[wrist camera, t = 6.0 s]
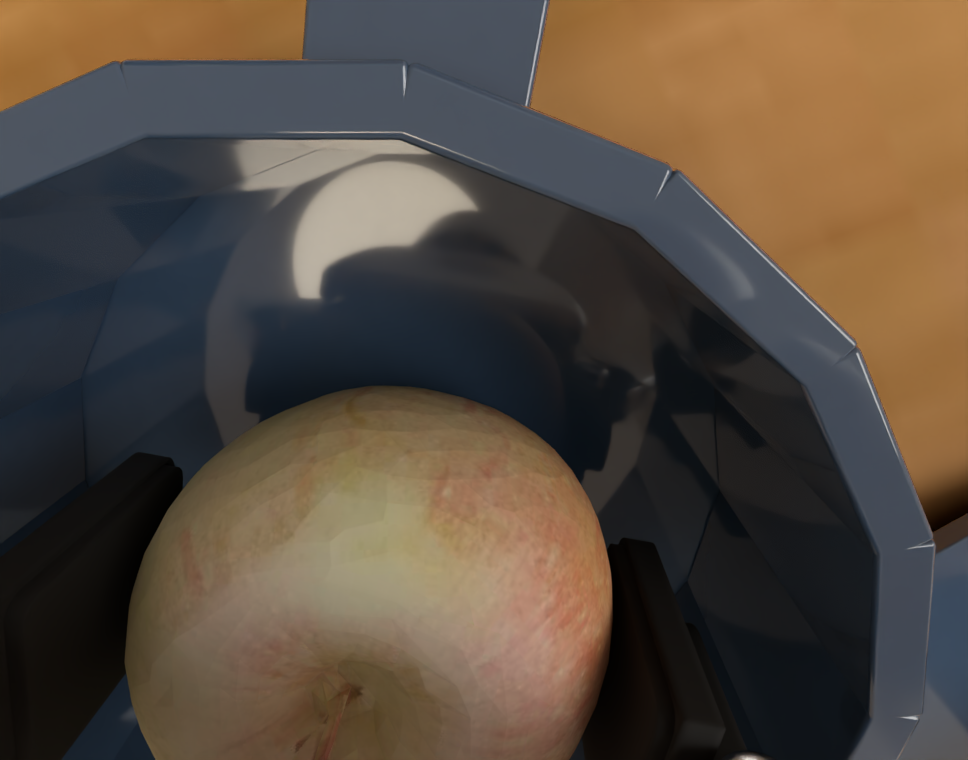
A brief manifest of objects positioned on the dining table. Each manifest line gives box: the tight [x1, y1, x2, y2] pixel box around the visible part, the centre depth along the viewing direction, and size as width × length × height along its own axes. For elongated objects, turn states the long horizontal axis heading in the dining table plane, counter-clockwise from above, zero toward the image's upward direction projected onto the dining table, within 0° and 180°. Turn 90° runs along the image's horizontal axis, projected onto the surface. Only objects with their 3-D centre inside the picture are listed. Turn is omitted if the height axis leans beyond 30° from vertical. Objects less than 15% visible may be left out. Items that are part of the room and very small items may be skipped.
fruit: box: [124, 386, 613, 760], centre depth 10 cm, size 8×7×8 cm
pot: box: [0, 0, 936, 760], centre depth 11 cm, size 15×21×6 cm
